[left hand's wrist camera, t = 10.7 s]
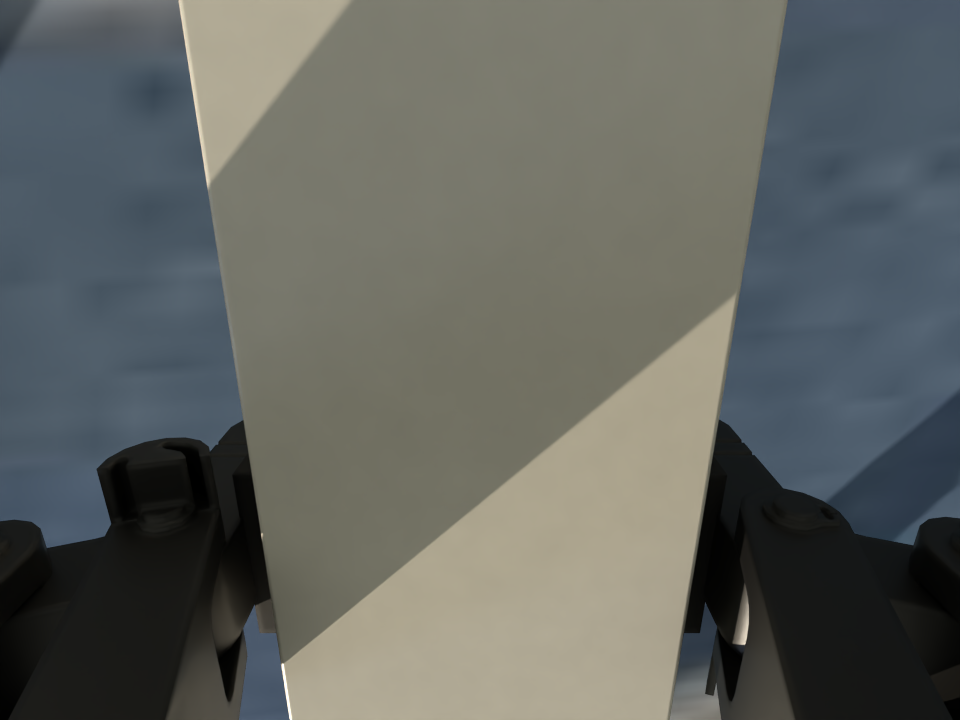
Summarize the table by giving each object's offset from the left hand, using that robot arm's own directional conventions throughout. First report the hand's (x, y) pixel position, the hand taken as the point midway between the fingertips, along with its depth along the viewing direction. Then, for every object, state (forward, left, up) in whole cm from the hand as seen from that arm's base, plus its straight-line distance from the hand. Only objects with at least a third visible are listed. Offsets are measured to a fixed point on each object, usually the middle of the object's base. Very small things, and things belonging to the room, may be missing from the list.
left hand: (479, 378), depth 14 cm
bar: (+3, +26, -1) cm, 26 cm away
